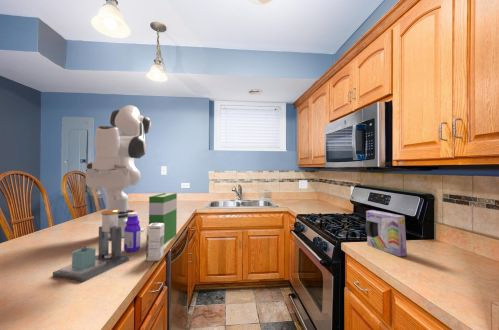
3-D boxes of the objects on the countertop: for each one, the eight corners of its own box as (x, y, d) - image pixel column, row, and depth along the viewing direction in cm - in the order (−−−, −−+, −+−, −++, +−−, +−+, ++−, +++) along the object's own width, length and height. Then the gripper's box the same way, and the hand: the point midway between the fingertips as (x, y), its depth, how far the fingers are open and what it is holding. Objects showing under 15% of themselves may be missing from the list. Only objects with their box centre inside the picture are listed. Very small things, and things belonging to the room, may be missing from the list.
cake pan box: (364, 244, 120) (364, 209, 120) (372, 243, 121) (372, 209, 121) (398, 257, 101) (398, 216, 102) (407, 256, 103) (407, 216, 103)
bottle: (142, 249, 111) (143, 212, 111) (132, 253, 106) (132, 214, 106) (132, 247, 114) (132, 211, 114) (121, 251, 109) (121, 213, 109)
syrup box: (150, 256, 102) (150, 222, 103) (164, 255, 103) (164, 222, 103) (145, 261, 97) (145, 226, 97) (160, 260, 97) (160, 225, 97)
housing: (85, 261, 90) (85, 243, 90) (95, 263, 88) (95, 244, 88) (71, 267, 85) (72, 247, 85) (82, 268, 83) (82, 249, 83)
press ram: (110, 237, 101) (111, 208, 101) (122, 238, 99) (122, 209, 99) (97, 241, 95) (97, 211, 95) (109, 243, 93) (109, 212, 93)
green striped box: (163, 234, 135) (164, 193, 136) (176, 235, 135) (176, 193, 135) (148, 244, 118) (149, 196, 118) (163, 245, 117) (163, 196, 118)
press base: (103, 256, 102) (103, 224, 102) (129, 260, 98) (129, 226, 98) (52, 276, 83) (53, 236, 83) (81, 282, 79) (82, 240, 79)
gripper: (133, 165, 96) (134, 198, 96) (96, 164, 103) (96, 196, 103) (121, 165, 90) (121, 201, 90) (82, 165, 97) (82, 198, 97)
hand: (107, 198), depth 97 cm, fingers open, 8 cm apart
